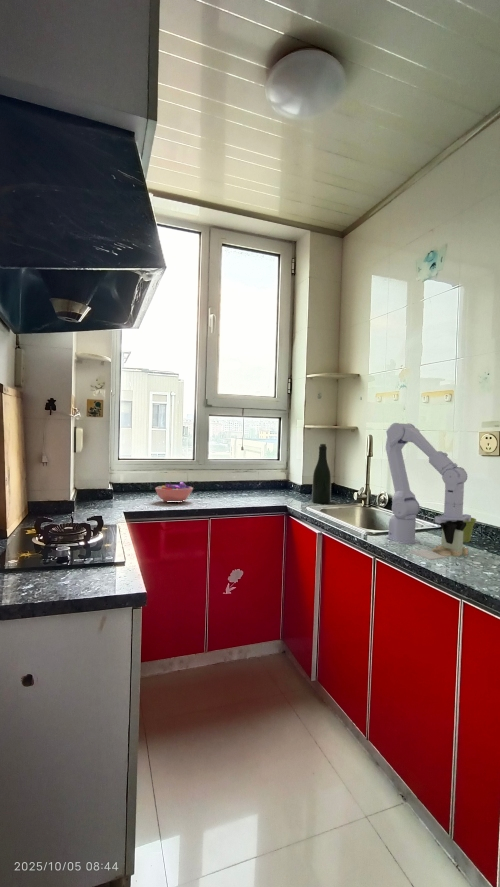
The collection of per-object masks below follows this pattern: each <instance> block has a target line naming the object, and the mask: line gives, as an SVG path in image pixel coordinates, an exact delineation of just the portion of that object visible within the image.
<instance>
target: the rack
mask: <svg viewBox="0 0 500 887" xmlns="http://www.w3.org/2000/svg"><path fill="white" fill-rule="evenodd" d="M435 548H442V549H445V550H448V551H451V555H452V556H455V557H460V556H461V555H460V552H457V551H454V550H451V549H448V548H445V547H443V546H441V545H439V544H437V545H436V547H435ZM462 555H463V556H468V555H469V548H468V547H465V546H463V552H462Z"/></svg>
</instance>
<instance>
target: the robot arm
mask: <svg viewBox="0 0 500 887" xmlns="http://www.w3.org/2000/svg"><path fill="white" fill-rule="evenodd" d="M385 432H386V436H387V438H386V442H385V451H386V457H387V462H388V465H389V471H390V475H391V479H392V484H393V489H394V494H393V496H392V498H391V501H392V503H391V504H392V505H391V512H392V513H393V515H392V516H391V517H390V518H389V520H388V534H387V535H388V536H386V539H387V540H391V541H394V542H397V543H400V544H402V545H409V544H411V545H412V544H418V543H421V541H420V540H418V539H416V526H417V525H416V524H417V522H416V519H417V514H419V512H420V510H421V505H420V503H419V501H418V500H417V499H416V498H417V497H416V495H415V494H414V492H412V490H411V487H410V483H409V478H408V475H407V468H406V464H405V460H404V456H403V451H402V450H403V448H404V447H405V445H406V444H408V443H412V444H414V445H415V446H416V447H417V448H418V449H419V450H420V451H422V453H424V454H425V455H426V456H427V457H428V463H429V464H430V465H431V466H432V467H433V468H434V469H435V470H436V471H437V472H438V473H439V474H440V475H441V479H442V481H443V483H444V506H443V514H442V515H441V514H440V515H437V516H434V523H437V524H439V525H440V527H441V530H442V529H443V532H444V535H445V539H446V542H447V543H450V544H452V543H453V537H454V532H455V529H457V530H461V531H463V529H464V528H465V527H466V523H465V522H463V521H471V517H472V515H470V514H467V513H466V514H464V496H465V495H464V492H465V483H466V482H467V480H468V472H467V471H466V469H465V468H463V467H462V466H461V467H459V466H458V464H457V462H454V461H453V460H451V459H450V457H448V453H447V452H443V451H441V450H440V451H437V449H436V448H435V447H434V446H433V445H432V444H431V443H430V442H429V441H428V440H427V438H426V437H425V436H424V435H423V434H422V433H421V432H420V429H418V428H417V427H416V426H415V425H414V424H413V423H408V422H407V423H399V422H393V423H391V425H389V427H388V428H387V430H386V431H385Z"/></svg>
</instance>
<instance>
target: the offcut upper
mask: <svg viewBox="0 0 500 887" xmlns="http://www.w3.org/2000/svg"><path fill="white" fill-rule="evenodd" d="M432 551H433V552H436V553H439V555H440V554H441V555H442V556H443V555H452V554H451V551H448V550H445V549H442V548H436V547H433V548H432Z"/></svg>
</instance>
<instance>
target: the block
mask: <svg viewBox="0 0 500 887" xmlns="http://www.w3.org/2000/svg"><path fill="white" fill-rule="evenodd" d="M440 546H443V547H445V548H448V549H451V550H454V551H457V552H460V556H462V555H463V554H462V552H463V547H464V542H463V531H461V530H457V529H455V532H454V537H453V543H452V544H450V543H447V542H446V539H445V535H444V532H443V529H442V528H441V545H440Z"/></svg>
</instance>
